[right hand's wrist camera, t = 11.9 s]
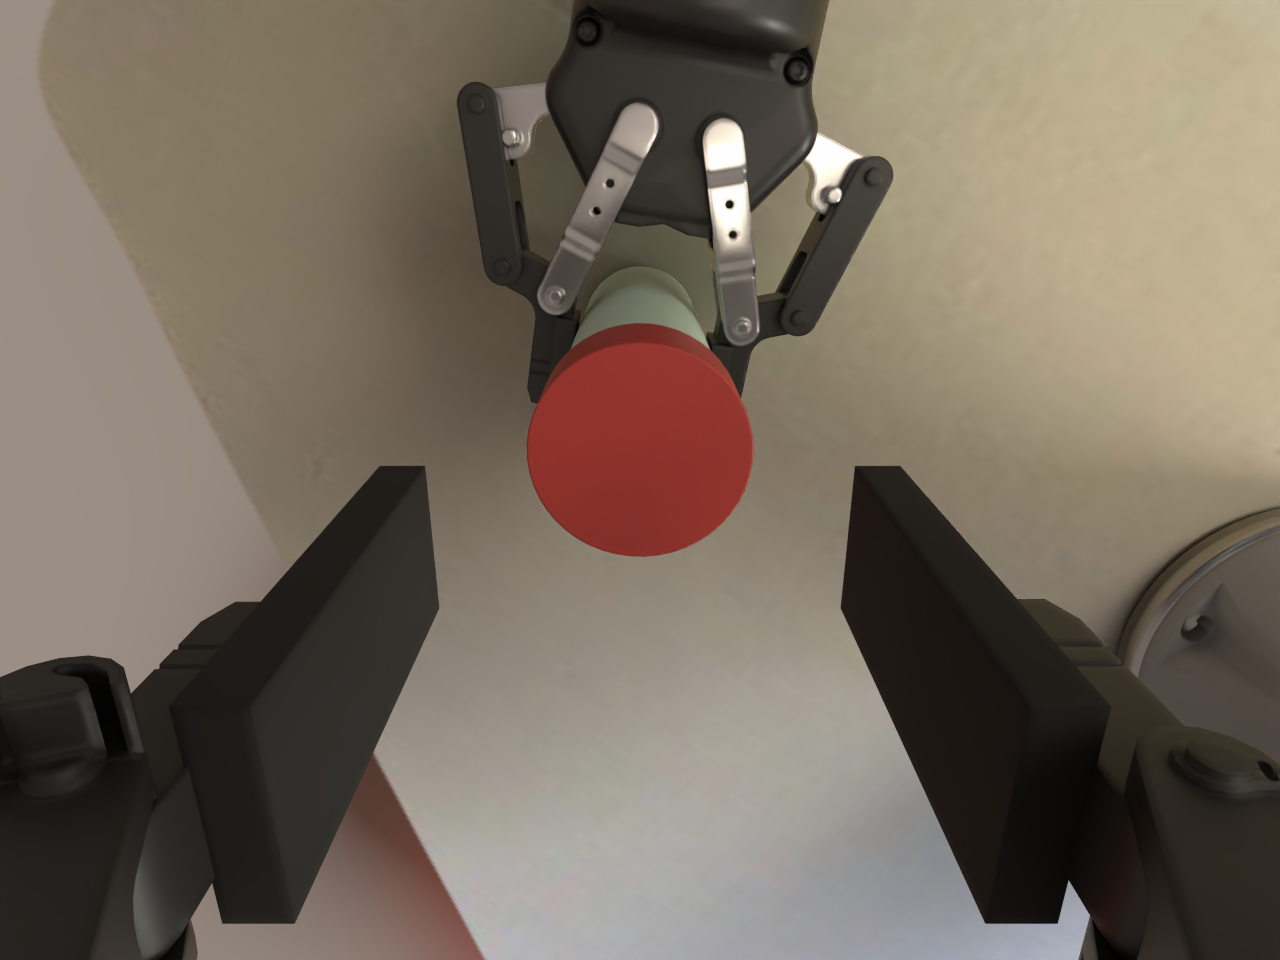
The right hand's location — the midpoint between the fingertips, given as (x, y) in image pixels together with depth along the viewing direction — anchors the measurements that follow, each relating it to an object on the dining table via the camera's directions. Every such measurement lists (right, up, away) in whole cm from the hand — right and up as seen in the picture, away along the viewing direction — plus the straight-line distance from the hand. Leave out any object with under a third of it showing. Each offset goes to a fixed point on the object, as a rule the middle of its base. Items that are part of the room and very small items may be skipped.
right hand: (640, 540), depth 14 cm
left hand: (0, +3, +15) cm, 15 cm away
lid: (0, +2, +5) cm, 5 cm away
